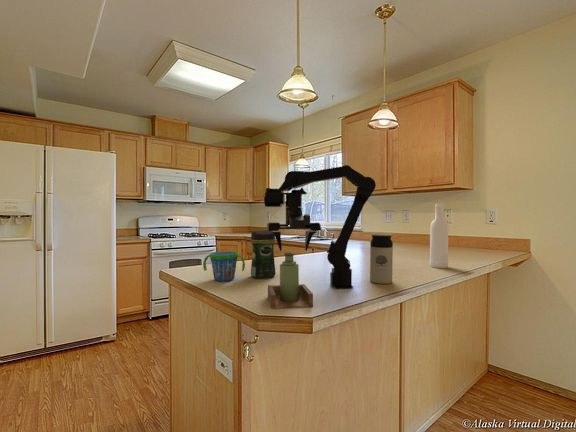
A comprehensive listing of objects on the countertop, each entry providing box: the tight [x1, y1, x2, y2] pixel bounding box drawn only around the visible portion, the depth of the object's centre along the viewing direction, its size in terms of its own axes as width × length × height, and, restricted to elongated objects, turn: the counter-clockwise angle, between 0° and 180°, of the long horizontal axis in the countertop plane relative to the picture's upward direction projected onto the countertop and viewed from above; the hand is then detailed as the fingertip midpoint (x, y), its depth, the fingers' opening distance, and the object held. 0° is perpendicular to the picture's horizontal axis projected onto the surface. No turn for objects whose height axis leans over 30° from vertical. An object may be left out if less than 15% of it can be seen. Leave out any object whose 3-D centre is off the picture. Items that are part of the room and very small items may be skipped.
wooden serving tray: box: [267, 283, 314, 309], centre depth 90 cm, size 11×11×4 cm
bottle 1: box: [279, 251, 300, 302], centre depth 90 cm, size 5×5×13 cm
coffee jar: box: [250, 229, 276, 279], centre depth 125 cm, size 10×8×19 cm
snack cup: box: [202, 251, 246, 282], centre depth 119 cm, size 16×11×10 cm
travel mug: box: [369, 232, 394, 285], centre depth 117 cm, size 8×8×18 cm
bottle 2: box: [429, 203, 449, 269], centre depth 150 cm, size 8×8×30 cm
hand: (293, 250), depth 112 cm, fingers open, 9 cm apart
